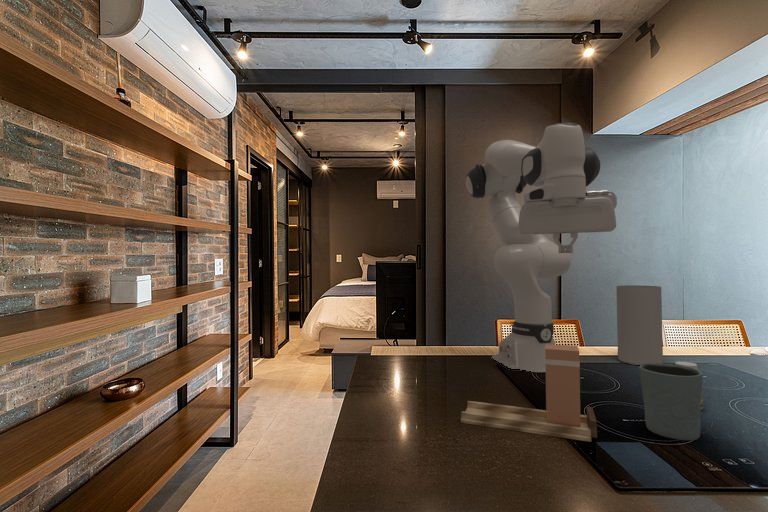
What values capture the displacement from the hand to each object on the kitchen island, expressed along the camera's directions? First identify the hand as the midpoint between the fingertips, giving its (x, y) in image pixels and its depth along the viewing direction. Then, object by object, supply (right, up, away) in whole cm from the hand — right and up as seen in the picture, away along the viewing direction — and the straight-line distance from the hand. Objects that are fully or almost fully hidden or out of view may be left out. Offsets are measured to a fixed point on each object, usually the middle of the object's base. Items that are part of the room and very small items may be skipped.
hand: (565, 253), depth 90 cm
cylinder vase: (+43, -36, +40) cm, 69 cm away
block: (-6, -34, -12) cm, 36 cm away
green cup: (+15, -35, -13) cm, 40 cm away
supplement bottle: (+27, -35, -1) cm, 45 cm away
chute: (-13, -35, -9) cm, 38 cm away
